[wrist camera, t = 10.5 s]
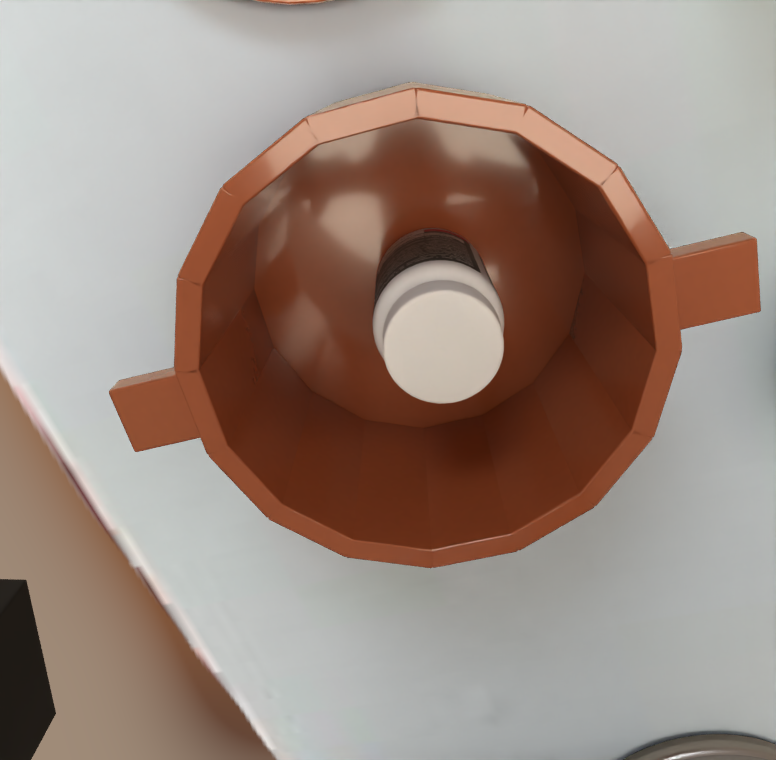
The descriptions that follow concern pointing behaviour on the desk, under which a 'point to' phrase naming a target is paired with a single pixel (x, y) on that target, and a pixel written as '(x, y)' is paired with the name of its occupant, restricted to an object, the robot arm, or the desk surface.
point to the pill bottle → (437, 317)
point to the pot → (367, 367)
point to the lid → (293, 1)
